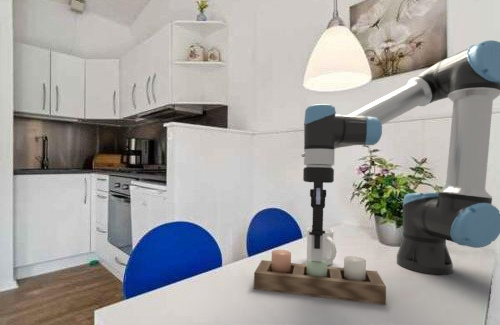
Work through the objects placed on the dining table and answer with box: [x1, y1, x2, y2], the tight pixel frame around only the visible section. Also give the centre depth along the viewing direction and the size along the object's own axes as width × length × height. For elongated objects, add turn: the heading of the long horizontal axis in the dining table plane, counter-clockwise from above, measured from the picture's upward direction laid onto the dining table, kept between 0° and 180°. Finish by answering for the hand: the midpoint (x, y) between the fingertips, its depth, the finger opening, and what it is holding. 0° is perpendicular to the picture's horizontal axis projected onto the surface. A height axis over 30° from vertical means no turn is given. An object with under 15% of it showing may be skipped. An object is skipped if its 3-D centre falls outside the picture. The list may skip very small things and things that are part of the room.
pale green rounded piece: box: [306, 259, 328, 278], centre depth 72 cm, size 5×5×4 cm
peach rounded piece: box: [271, 249, 292, 273], centre depth 74 cm, size 5×5×4 cm
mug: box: [306, 227, 337, 266], centre depth 91 cm, size 12×8×10 cm
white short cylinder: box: [343, 255, 367, 281], centre depth 70 cm, size 5×5×4 cm
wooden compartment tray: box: [253, 259, 387, 306], centre depth 72 cm, size 30×10×4 cm, turn 77°
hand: (316, 260), depth 72 cm, fingers closed
